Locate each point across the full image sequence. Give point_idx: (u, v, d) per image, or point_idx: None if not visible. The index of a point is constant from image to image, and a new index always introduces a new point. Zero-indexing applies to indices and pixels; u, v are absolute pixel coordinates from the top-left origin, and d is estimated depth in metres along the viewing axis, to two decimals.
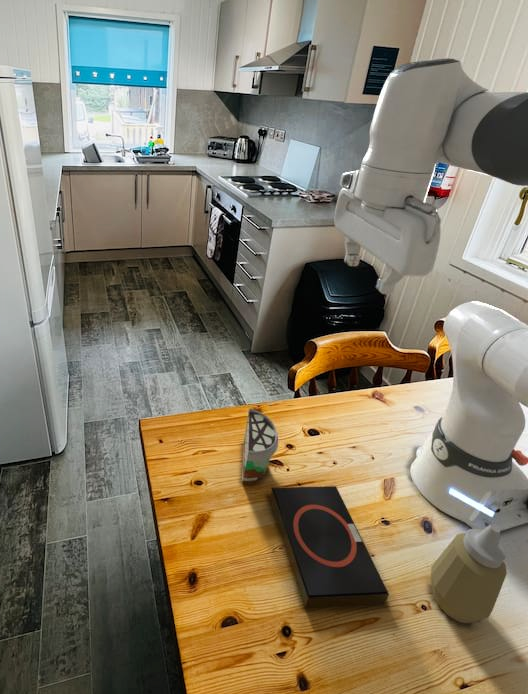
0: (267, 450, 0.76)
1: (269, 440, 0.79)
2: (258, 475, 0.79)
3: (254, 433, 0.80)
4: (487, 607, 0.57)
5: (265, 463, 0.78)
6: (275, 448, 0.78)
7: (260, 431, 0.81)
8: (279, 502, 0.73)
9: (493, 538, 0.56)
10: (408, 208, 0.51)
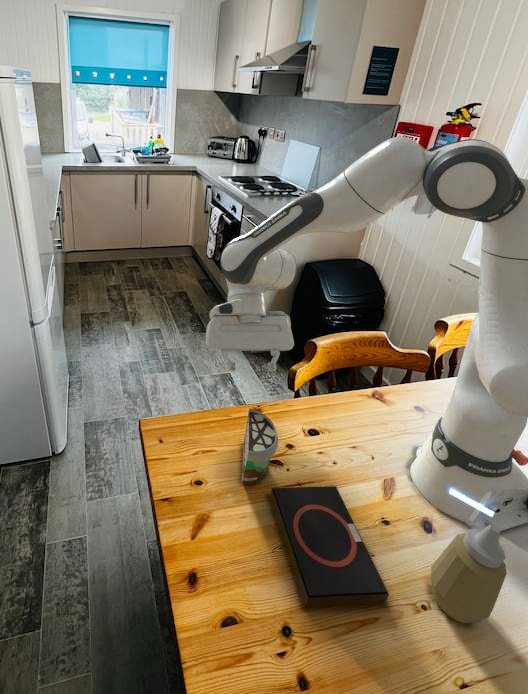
0: (267, 450, 0.76)
1: (269, 440, 0.79)
2: (258, 475, 0.79)
3: (254, 433, 0.80)
4: (487, 607, 0.57)
5: (265, 463, 0.78)
6: (275, 448, 0.78)
7: (260, 431, 0.81)
8: (279, 502, 0.73)
9: (493, 538, 0.56)
10: (269, 316, 0.94)
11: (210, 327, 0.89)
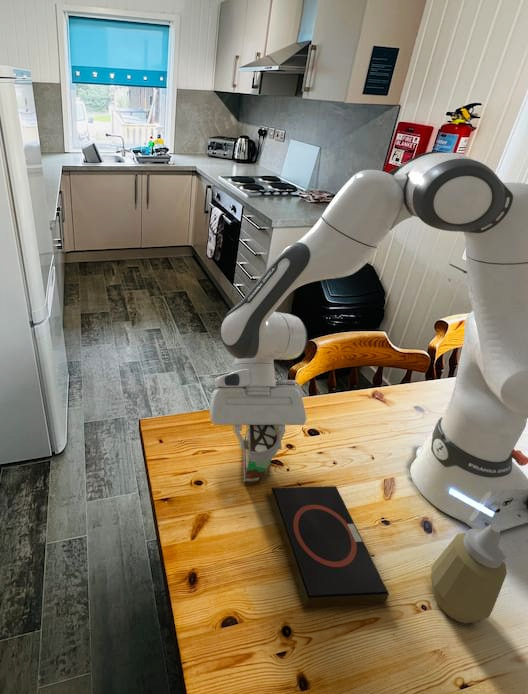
0: (269, 450, 0.76)
1: (270, 440, 0.79)
2: (260, 475, 0.79)
3: (255, 433, 0.80)
4: (487, 607, 0.57)
5: (267, 463, 0.78)
6: (277, 448, 0.78)
7: (261, 431, 0.81)
8: (279, 502, 0.73)
9: (493, 538, 0.56)
10: (279, 386, 0.86)
11: (215, 400, 0.82)
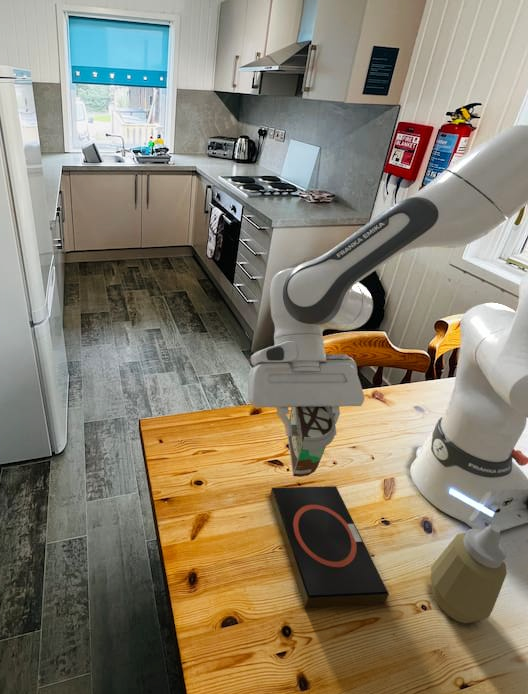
0: (326, 436, 0.63)
1: (325, 424, 0.66)
2: (313, 466, 0.66)
3: (306, 416, 0.67)
4: (487, 607, 0.57)
5: (321, 452, 0.65)
6: (333, 433, 0.65)
7: (312, 414, 0.68)
8: (279, 502, 0.73)
9: (493, 538, 0.56)
10: (329, 361, 0.73)
11: (255, 378, 0.69)
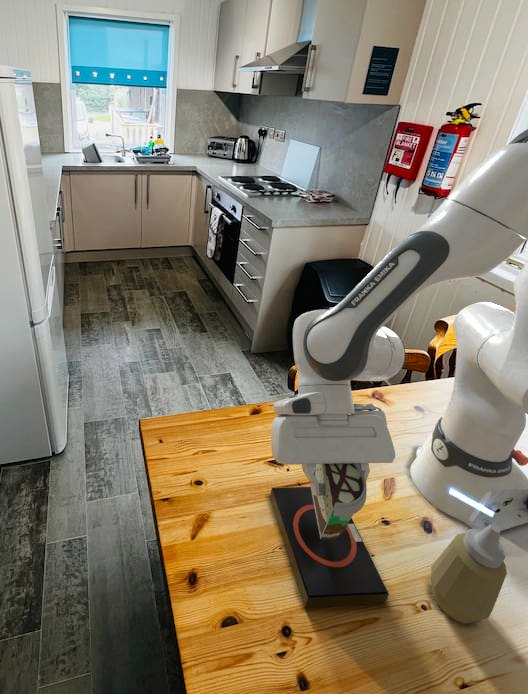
0: (358, 500, 0.59)
1: (355, 485, 0.61)
2: (342, 529, 0.62)
3: (335, 475, 0.63)
4: (487, 607, 0.57)
5: None
6: (365, 496, 0.60)
7: (341, 472, 0.63)
8: (279, 502, 0.73)
9: (493, 538, 0.56)
10: (357, 412, 0.68)
11: (281, 433, 0.64)
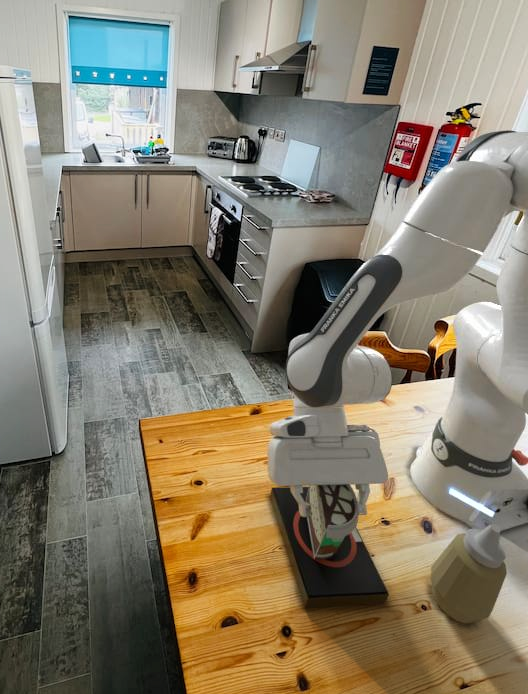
0: (350, 522, 0.61)
1: (348, 507, 0.64)
2: (335, 549, 0.64)
3: (328, 497, 0.65)
4: (487, 607, 0.57)
5: (344, 536, 0.63)
6: (357, 517, 0.62)
7: (334, 494, 0.65)
8: (279, 502, 0.73)
9: (493, 538, 0.56)
10: (351, 433, 0.70)
11: (276, 455, 0.66)
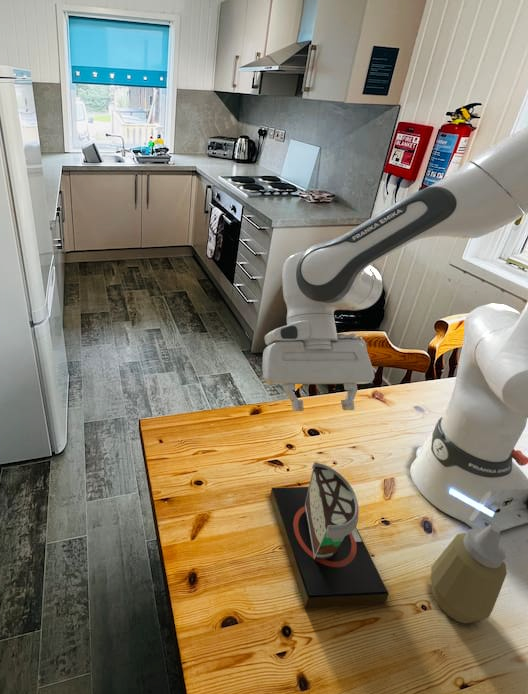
0: (350, 522, 0.61)
1: (348, 507, 0.64)
2: (335, 549, 0.64)
3: (328, 497, 0.65)
4: (487, 607, 0.57)
5: (344, 536, 0.63)
6: (357, 517, 0.62)
7: (334, 494, 0.65)
8: (279, 502, 0.73)
9: (493, 538, 0.56)
10: (340, 340, 0.76)
11: (270, 356, 0.72)
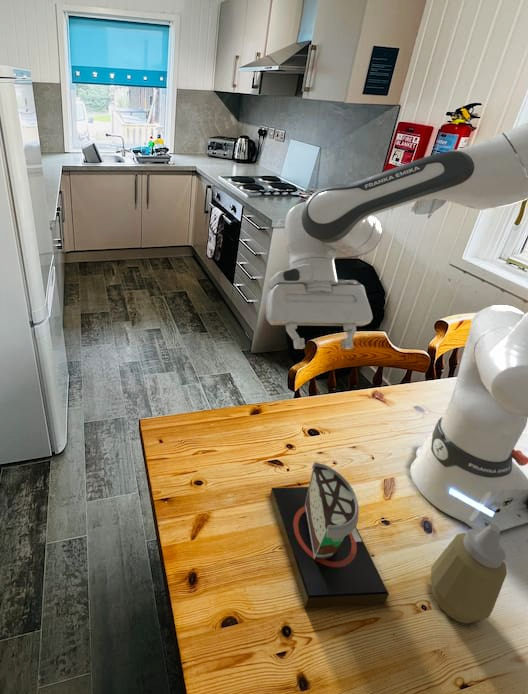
0: (350, 522, 0.61)
1: (348, 507, 0.64)
2: (335, 549, 0.64)
3: (328, 497, 0.65)
4: (487, 607, 0.57)
5: (344, 536, 0.63)
6: (357, 517, 0.62)
7: (334, 494, 0.65)
8: (279, 502, 0.73)
9: (493, 538, 0.56)
10: (340, 285, 0.79)
11: (273, 296, 0.75)
